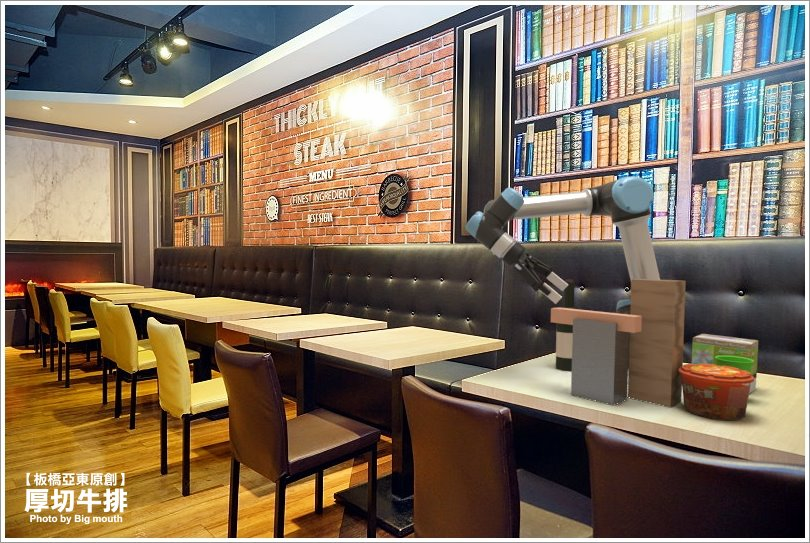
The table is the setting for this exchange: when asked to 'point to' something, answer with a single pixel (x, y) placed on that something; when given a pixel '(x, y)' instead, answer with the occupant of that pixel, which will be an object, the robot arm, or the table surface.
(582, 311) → the bar
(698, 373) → the food container
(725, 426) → the table surface
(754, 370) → the tea box
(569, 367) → the wine bottle
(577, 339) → the block
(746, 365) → the cup
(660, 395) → the post
